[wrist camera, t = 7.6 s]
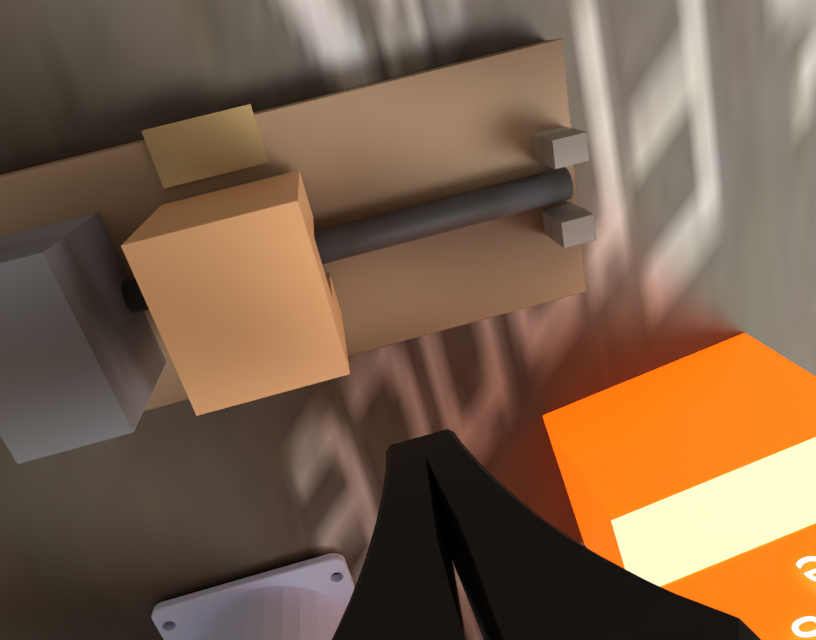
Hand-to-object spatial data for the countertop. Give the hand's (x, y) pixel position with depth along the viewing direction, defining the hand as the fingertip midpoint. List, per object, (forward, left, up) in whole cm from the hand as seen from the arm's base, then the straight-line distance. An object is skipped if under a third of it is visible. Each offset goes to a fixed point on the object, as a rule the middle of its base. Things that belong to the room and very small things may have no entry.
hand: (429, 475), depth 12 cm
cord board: (+3, +1, -9) cm, 10 cm away
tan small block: (+3, +3, -8) cm, 9 cm away
